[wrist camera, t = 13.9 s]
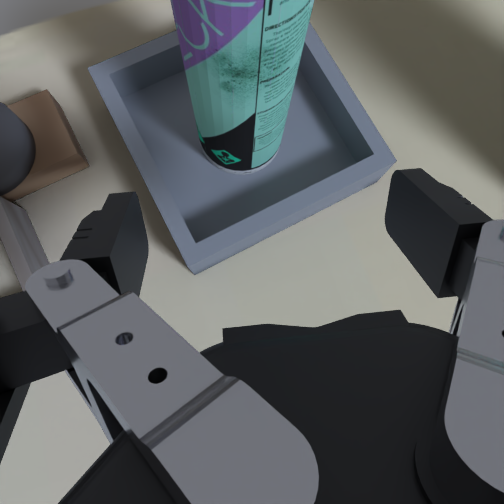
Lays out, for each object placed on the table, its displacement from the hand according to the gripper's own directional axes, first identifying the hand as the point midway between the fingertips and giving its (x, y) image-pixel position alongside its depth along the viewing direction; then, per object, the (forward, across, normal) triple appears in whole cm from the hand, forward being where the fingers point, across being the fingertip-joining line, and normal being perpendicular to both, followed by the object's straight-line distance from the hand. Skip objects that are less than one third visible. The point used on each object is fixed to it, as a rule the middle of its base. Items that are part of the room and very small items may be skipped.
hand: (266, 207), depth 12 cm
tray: (+16, 0, +3) cm, 16 cm away
